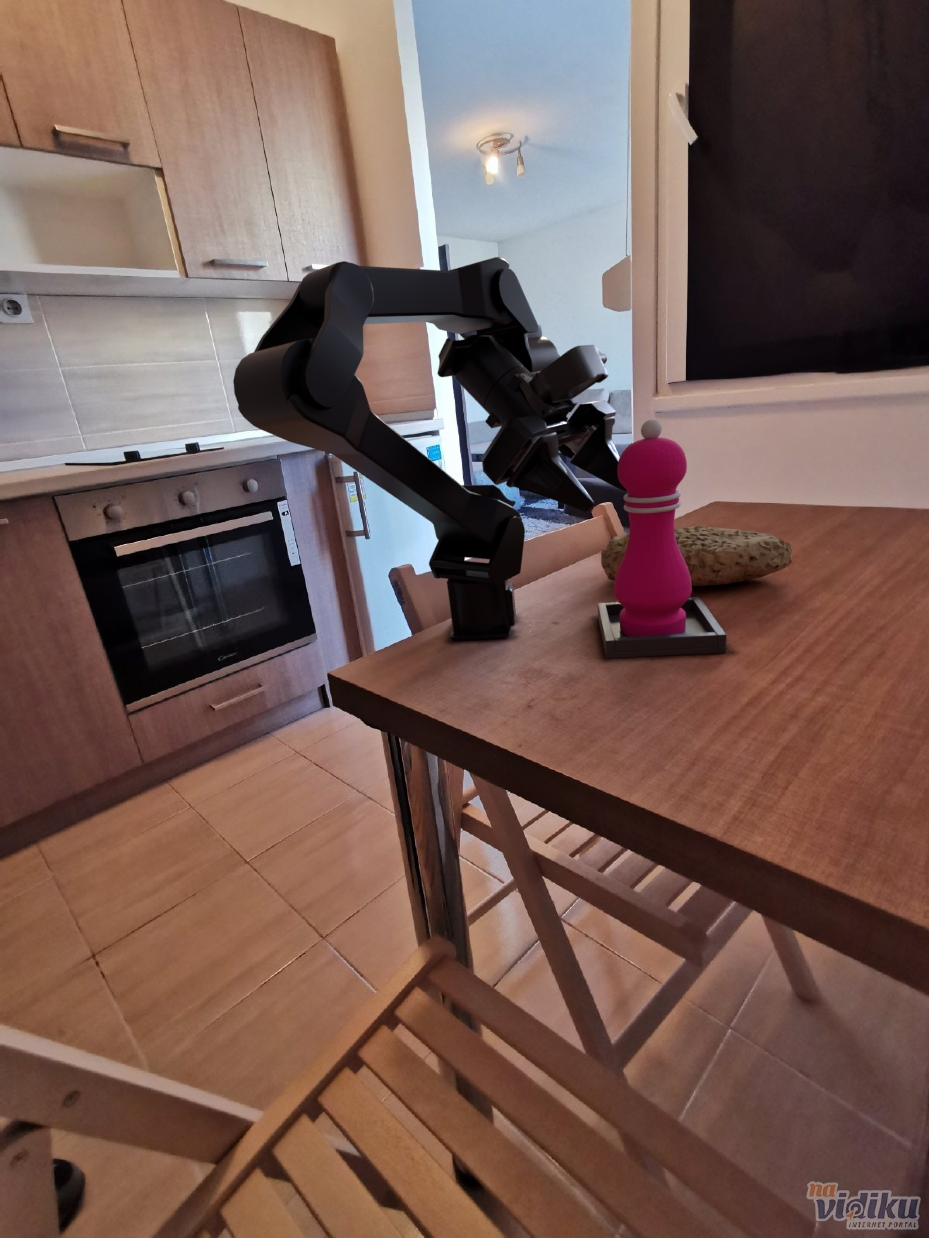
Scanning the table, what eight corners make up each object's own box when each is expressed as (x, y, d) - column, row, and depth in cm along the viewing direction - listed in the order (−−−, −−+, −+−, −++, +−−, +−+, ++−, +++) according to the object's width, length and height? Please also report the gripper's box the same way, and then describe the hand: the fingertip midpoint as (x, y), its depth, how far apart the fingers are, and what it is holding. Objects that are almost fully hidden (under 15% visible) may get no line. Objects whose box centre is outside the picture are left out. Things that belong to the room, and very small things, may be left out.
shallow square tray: (606, 658, 55) (605, 640, 54) (598, 618, 65) (597, 603, 64) (726, 652, 53) (726, 634, 53) (699, 612, 63) (699, 596, 62)
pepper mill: (698, 619, 60) (703, 412, 53) (681, 647, 54) (684, 419, 47) (627, 613, 63) (623, 419, 57) (604, 638, 58) (597, 426, 51)
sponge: (598, 600, 74) (771, 584, 60) (590, 538, 73) (762, 507, 60) (645, 588, 83) (803, 571, 70) (638, 533, 83) (795, 506, 69)
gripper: (494, 317, 48) (628, 449, 45) (594, 318, 61) (702, 421, 59) (434, 425, 55) (546, 544, 53) (535, 405, 69) (628, 499, 66)
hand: (611, 497), depth 57 cm, fingers open, 9 cm apart
